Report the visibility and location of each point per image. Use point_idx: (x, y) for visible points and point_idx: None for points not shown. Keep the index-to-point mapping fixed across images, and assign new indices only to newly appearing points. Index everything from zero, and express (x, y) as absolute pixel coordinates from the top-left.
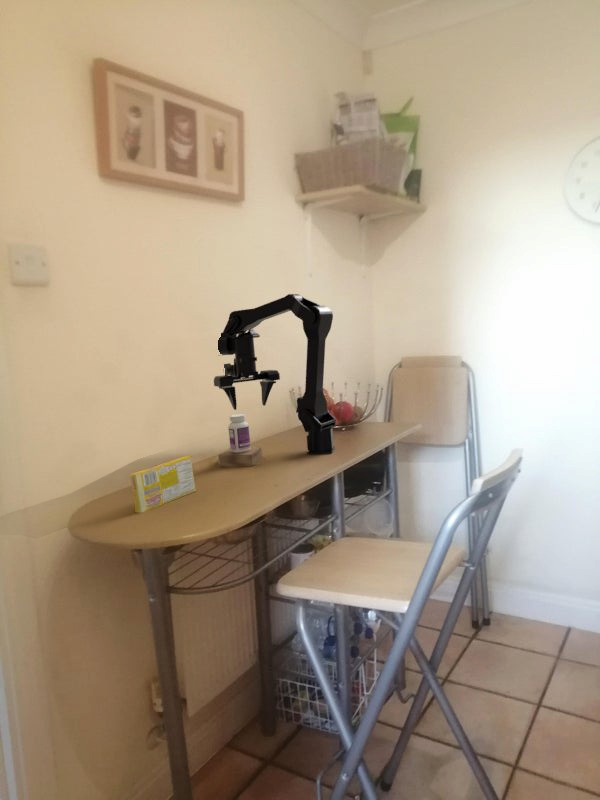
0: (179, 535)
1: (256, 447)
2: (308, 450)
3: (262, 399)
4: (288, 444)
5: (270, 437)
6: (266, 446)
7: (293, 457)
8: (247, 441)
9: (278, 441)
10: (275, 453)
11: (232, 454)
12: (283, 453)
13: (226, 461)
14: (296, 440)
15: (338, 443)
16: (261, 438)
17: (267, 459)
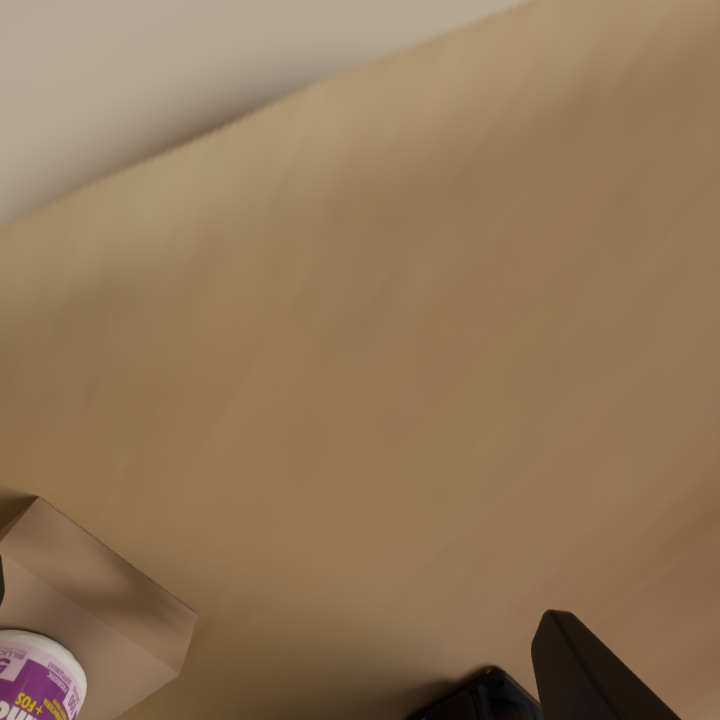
0: None
1: (148, 666)
2: (426, 714)
3: (587, 718)
4: (530, 465)
5: (688, 89)
6: (403, 390)
7: (315, 711)
8: None
9: (577, 318)
10: (310, 591)
11: None
12: (339, 621)
13: None
14: (661, 408)
15: (677, 662)
16: (616, 41)
17: (199, 657)
